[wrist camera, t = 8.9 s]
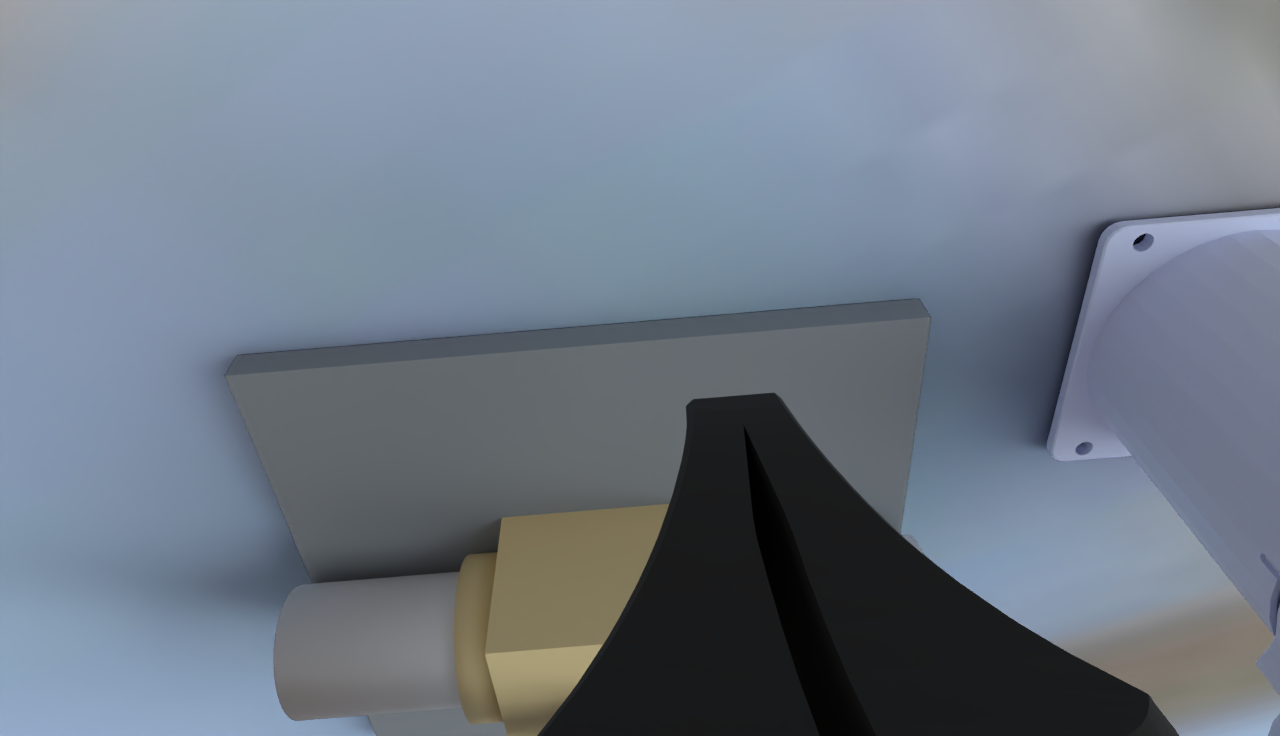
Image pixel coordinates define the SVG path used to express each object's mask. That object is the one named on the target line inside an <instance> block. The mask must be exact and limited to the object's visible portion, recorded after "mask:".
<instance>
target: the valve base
mask: <svg viewBox="0 0 1280 736" xmlns="http://www.w3.org/2000/svg"><path fill="white" fill-rule="evenodd" d="M930 322H931V316H930V315H929V313H928V311H927V310H926V308H925V307H924V305H923V303H922V302H921V300H920V299H908V300H896V301H884V302H872V303H860V304H848V305H836V306H824V307H812V308H800V309H788V310H776V311H764V312H752V313H740V314H728V315H716V316H704V317H692V318H680V319H668V320H656V321H644V322H632V323H620V324H608V325H596V326H584V327H572V328H559V329H547V330H535V331H523V332H511V333H499V334H487V335H475V336H463V337H451V338H439V339H427V340H415V341H403V342H391V343H379V344H367V345H355V346H343V347H331V348H319V349H307V350H295V351H283V352H271V353H259V354H247V355H237V357H236V358H235V360H234V361H233V363H232V365H231V366H230V368H229V370H228V371H227V373H226V374H225V378H226V380H227V383H228V385H229V388H230V390H231V392H232V395H233V397H234V399H235V402H236V404H237V407H238V409H239V411H240V414H241V416H242V418H243V421H244V423H245V426H246V428H247V430H248V433H249V435H250V437H251V440H252V442H253V445H254V447H255V449H256V452H257V454H258V456H259V459H260V461H261V464H262V466H263V468H264V471H265V473H266V475H267V478H268V480H269V483H270V485H271V487H272V490H273V492H274V494H275V497H276V499H277V501H278V504H279V506H280V509H281V511H282V513H283V516H284V518H285V520H286V523H287V525H288V528H289V530H290V532H291V535H292V537H293V539H294V542H295V544H296V547H297V549H298V551H299V554H300V556H301V558H302V561H303V563H304V566H305V568H306V570H307V573H308V575H309V577H310V580H311V582H312V584H301V585H298V586H297V587H295V588H294V589H293V590H292V591H291V592H290V594H289V595H288V597H287V598H286V600H285V602H284V605H283V607H282V610H281V613H280V616H279V620H278V624H277V629H276V635H275V642H274V678H275V685H276V690H277V695H278V698H279V701H280V704H281V706H282V709H283V710H284V712H285V714H286V715H287V716H288V717H289V718H290V719H292V720H295V721H301V720H313V719H326V718H338V717H350V716H363V715H368V717H369V720H370V722H371V725H372V727H373V729H374V732H375V734H376V736H537V735H538V734H539V733H540V731H541V730H542V729H543V728H544V726H545V725H546V724H547V723H548V721H549V720H550V719H551V717H552V716H553V715H554V714H555V712H556V711H557V710H558V709H559V707H560V706H561V705H562V703H563V702H564V701H565V700H566V698H567V697H568V696H569V694H570V693H571V692H572V690H573V689H574V687H575V686H576V685H577V683H578V682H579V680H580V679H581V677H582V676H583V674H584V673H585V671H586V670H587V668H588V667H589V665H590V664H591V662H592V661H593V659H594V658H595V656H596V655H597V653H598V651H599V650H600V648H601V647H602V645H603V644H604V642H605V641H606V639H607V638H608V636H609V634H610V633H611V631H612V629H613V628H614V626H615V624H616V622H617V621H618V619H619V617H620V615H621V613H622V611H623V610H624V608H625V606H626V604H627V602H628V600H629V598H630V596H631V594H632V593H633V591H634V589H635V587H636V585H637V583H638V581H639V579H640V576H641V574H642V572H643V570H644V568H645V566H646V564H647V561H648V559H649V557H650V554H651V552H652V550H653V547H654V545H655V542H656V540H657V537H658V535H659V532H660V529H661V526H662V524H663V521H664V518H665V515H666V512H667V509H668V507H669V504H670V501H671V498H672V494H673V491H674V487H675V483H676V480H677V476H678V472H679V468H680V464H681V460H682V455H683V450H684V444H685V438H686V429H687V421H686V405H687V404H688V403H690V402H691V401H692V400H693V399H701V398H713V397H725V396H737V395H750V394H762V393H774V392H775V393H776V394H777V395H778V396H779V397H780V398H782V400H783V401H784V403H785V404H786V406H787V407H788V409H789V410H790V412H791V413H792V414H793V416H794V417H795V418H796V420H797V421H798V423H799V424H800V425H801V426H802V428H803V429H804V430H805V432H806V433H807V434H808V436H809V437H810V438H811V439H812V441H813V442H814V443H815V444H816V446H817V447H818V448H819V449H820V450H821V452H822V453H823V454H824V455H825V456H826V458H827V459H828V460H829V461H830V462H831V463H832V465H833V466H834V467H835V468H836V469H837V470H838V471H839V472H840V474H841V475H842V476H843V477H844V478H845V479H846V480H847V481H848V482H849V484H850V485H851V486H852V487H853V488H854V489H855V490H856V491H857V492H858V493H859V494H860V495H861V496H862V497H863V498H864V500H865V501H866V502H867V503H868V504H869V505H870V506H871V507H872V508H874V509H875V510H876V511H877V512H878V513H879V514H880V515H881V516H882V517H883V518H884V519H885V520H886V521H887V522H888V523H889V524H890V525H891V526H892V527H893V528H894V529H895V530H896V531H897V532H898V533H900V534H901V527H902V520H903V513H904V506H905V499H906V492H907V485H908V477H909V470H910V463H911V456H912V449H913V442H914V435H915V428H916V421H917V414H918V407H919V400H920V393H921V385H922V378H923V371H924V364H925V357H926V350H927V343H928V336H929V329H930ZM902 536H903V537H904V538H905V539H906V540H907V541H909V542H910V543H911V544H912V545H913V546H914V547H915V548H917V549H918V550H919V551H920V552H921V553H923V552H922V550H921V548H920V546H919V544H918V543H917V541H916V540H915V539H914V538H913V537H912V536H910V535H902Z"/></svg>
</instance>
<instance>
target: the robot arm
mask: <svg viewBox="0 0 1280 736" xmlns="http://www.w3.org/2000/svg"><path fill="white" fill-rule="evenodd" d="M1142 234H1146V236H1145V237H1144V239H1143V240H1142V241H1141V242H1140V243H1138V244H1135V245H1133V243H1134V241H1135V239H1136V238H1137V237H1139V236H1140V235H1142ZM686 421H687V429H686V438H685V444H684V450H683V455H682V460H681V464H680V468H679V472H678V476H677V480H676V483H675V487H674V491H673V494H672V498H671V501H670V504H669V507H668V509H667V512H666V515H665V518H664V521H663V524H662V526H661V529H660V532H659V535H658V537H657V540H656V542H655V545H654V547H653V550H652V552H651V554H650V557H649V559H648V561H647V564H646V566H645V568H644V570H643V572H642V574H641V576H640V579H639V581H638V583H637V585H636V587H635V589H634V591H633V593H632V594H631V596H630V598H629V600H628V602H627V604H626V606H625V608H624V610H623V611H622V613H621V615H620V617H619V619H618V621H617V622H616V624H615V626H614V628H613V629H612V631H611V633H610V634H609V636H608V638H607V639H606V641H605V642H604V644H603V645H602V647H601V648H600V650H599V651H598V653H597V655H596V656H595V658H594V659H593V661H592V662H591V664H590V665H589V667H588V668H587V670H586V671H585V673H584V674H583V676H582V677H581V679H580V680H579V682H578V683H577V685H576V686H575V687H574V689H573V690H572V692H571V693H570V694H569V696H568V697H567V698H566V700H565V701H564V702H563V703H562V705H561V706H560V707H559V709H558V710H557V711H556V712H555V714H554V715H553V716H552V717H551V719H550V720H549V721H548V723H547V724H546V725H545V726H544V728H543V729H542V730H541V731H540V733H539V734H538V735H537V736H1179V735H1178V733H1177V732H1176V730H1175V729H1174V728H1173V726H1172V725H1171V724H1170V722H1169V721H1168V720H1167V719H1166V717H1165V716H1164V715H1163V713H1162V712H1161V711H1160V710H1159V708H1158V707H1157V706H1156V704H1155V703H1154V702H1153V700H1152V699H1151V697H1150V696H1149V695H1148V694H1147V693H1145V692H1143V691H1141V690H1139V689H1137V688H1135V687H1133V686H1131V685H1129V684H1128V683H1126V682H1124V681H1122V680H1120V679H1118V678H1116V677H1114V676H1112V675H1110V674H1108V673H1106V672H1104V671H1102V670H1100V669H1099V668H1097V667H1095V666H1093V665H1091V664H1089V663H1087V662H1085V661H1083V660H1081V659H1079V658H1077V657H1075V656H1073V655H1072V654H1070V653H1068V652H1066V651H1064V650H1063V649H1061V648H1059V647H1058V646H1056V645H1054V644H1053V643H1051V642H1049V641H1047V640H1046V639H1044V638H1042V637H1041V636H1039V635H1037V634H1036V633H1034V632H1032V631H1031V630H1029V629H1027V628H1026V627H1024V626H1022V625H1021V624H1019V623H1018V622H1016V621H1015V620H1013V619H1011V618H1010V617H1008V616H1007V615H1005V614H1004V613H1002V612H1001V611H999V610H998V609H997V608H995V607H994V606H992V605H991V604H989V603H988V602H986V601H985V600H984V599H982V598H981V597H979V596H978V595H976V594H975V593H973V592H972V591H971V590H969V589H968V588H966V587H965V586H963V585H962V584H960V583H959V582H958V581H956V580H955V579H954V578H953V577H951V576H950V575H949V574H947V573H946V572H945V571H944V570H942V569H941V568H940V567H938V566H937V565H936V564H935V563H933V562H932V561H931V560H930V559H929V558H927V557H926V556H925V555H924V554H923V553H921V552H920V551H919V550H918V549H917V548H915V547H914V546H913V545H912V544H911V543H910V542H909V541H907V540H906V539H905V538H904V537H903V536H902V535H901V534H900V533H898V532H897V531H896V530H895V529H894V528H893V527H892V526H891V525H890V524H889V523H888V522H887V521H886V520H885V519H884V518H883V517H882V516H881V515H880V514H879V513H878V512H877V511H876V510H875V509H874V508H872V507H871V506H870V505H869V504H868V503H867V502H866V501H865V500H864V498H863V497H862V496H861V495H860V494H859V493H858V492H857V491H856V490H855V489H854V488H853V487H852V486H851V485H850V484H849V482H848V481H847V480H846V479H845V478H844V477H843V476H842V475H841V474H840V472H839V471H838V470H837V469H836V468H835V467H834V466H833V465H832V463H831V462H830V461H829V460H828V459H827V458H826V456H825V455H824V454H823V453H822V452H821V450H820V449H819V448H818V447H817V446H816V444H815V443H814V442H813V441H812V439H811V438H810V437H809V436H808V434H807V433H806V432H805V430H804V429H803V428H802V426H801V425H800V424H799V423H798V421H797V420H796V418H795V417H794V416H793V414H792V413H791V412H790V410H789V409H788V407H787V406H786V404H785V403H784V401H783V400H782V398H780V397H779V396H778V395H777V394H776V393H775V392H774V393H762V394H750V395H737V396H725V397H713V398H701V399H693V400H692V401H691V402H690V403H688V404H687V405H686ZM1084 442H1085V443H1084ZM1081 443H1084V444H1083V445H1081V446H1078V445H1079V444H1081ZM1077 446H1078V447H1077ZM1047 450H1048V451H1049V453H1050V454H1051V456H1052V457H1053V459H1055V460H1057V461H1073V460H1086V459H1098V458H1110V457H1122V456H1132V457H1133V458H1134V459H1135V460H1136V462H1137V463H1138V464H1139V465H1140V467H1141V468H1142V469H1143V470H1144V472H1145V473H1146V474H1147V476H1148V477H1149V478H1150V479H1151V481H1152V482H1153V483H1154V484H1155V486H1156V487H1157V488H1158V489H1159V491H1160V492H1161V493H1162V494H1163V496H1164V497H1165V498H1166V500H1167V501H1168V502H1169V503H1170V505H1171V506H1172V507H1173V508H1174V510H1175V511H1176V512H1177V513H1178V515H1179V516H1180V517H1181V519H1182V520H1183V521H1184V522H1185V524H1186V525H1187V526H1188V527H1189V529H1190V530H1191V531H1192V532H1193V534H1194V535H1195V536H1196V538H1197V539H1198V540H1199V541H1200V543H1201V544H1202V545H1203V546H1204V548H1205V549H1206V550H1207V551H1208V553H1209V554H1210V555H1211V556H1212V558H1213V559H1214V560H1215V562H1216V563H1217V564H1218V565H1219V567H1220V568H1221V569H1222V570H1223V572H1224V573H1225V574H1226V575H1227V577H1228V578H1229V579H1230V581H1231V582H1232V583H1233V584H1234V586H1235V587H1236V588H1237V589H1238V591H1239V592H1240V593H1241V594H1242V596H1243V597H1244V598H1245V600H1246V601H1247V602H1248V603H1249V605H1250V606H1251V607H1252V608H1253V610H1254V611H1255V612H1256V613H1257V615H1258V616H1259V617H1260V618H1261V620H1262V621H1263V622H1264V624H1265V625H1266V626H1267V627H1268V629H1269V630H1270V631H1271V632H1272V634H1273V635H1274V636H1275V637H1274V639H1273V641H1272V643H1271V644H1270V646H1269V647H1268V649H1267V650H1266V651H1265V652H1264V653H1263V654H1262V655H1261V656H1260V657H1259V658H1258V660H1257V662H1256V665H1257V666H1258V668H1259V669H1260V670H1261V672H1262V673H1263V674H1264V676H1265V677H1266V678H1267V680H1268V681H1269V682H1270V684H1271V685H1272V686H1273V688H1274V689H1275V690H1276V692H1277V693H1278V694H1279V696H1280V208H1273V209H1261V210H1249V211H1237V212H1225V213H1213V214H1201V215H1189V216H1177V217H1165V218H1153V219H1141V220H1129V221H1121V222H1117V223H1114V224H1112V225H1110V226H1109V227H1107V228H1106V229H1105V230H1104V232H1103V233H1102V234H1101V236H1100V238H1099V241H1098V245H1097V249H1096V253H1095V257H1094V260H1093V264H1092V268H1091V272H1090V276H1089V280H1088V284H1087V288H1086V292H1085V296H1084V300H1083V304H1082V308H1081V311H1080V315H1079V319H1078V323H1077V327H1076V331H1075V335H1074V339H1073V343H1072V347H1071V351H1070V355H1069V359H1068V362H1067V366H1066V370H1065V374H1064V378H1063V382H1062V386H1061V390H1060V394H1059V398H1058V402H1057V406H1056V409H1055V413H1054V417H1053V421H1052V425H1051V429H1050V433H1049V437H1048V441H1047ZM1268 736H1280V715H1279V716H1278V717H1277V718H1276V719H1275V720H1274V722H1273V723H1272V726H1271V729H1270V732H1269V735H1268Z"/></svg>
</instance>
